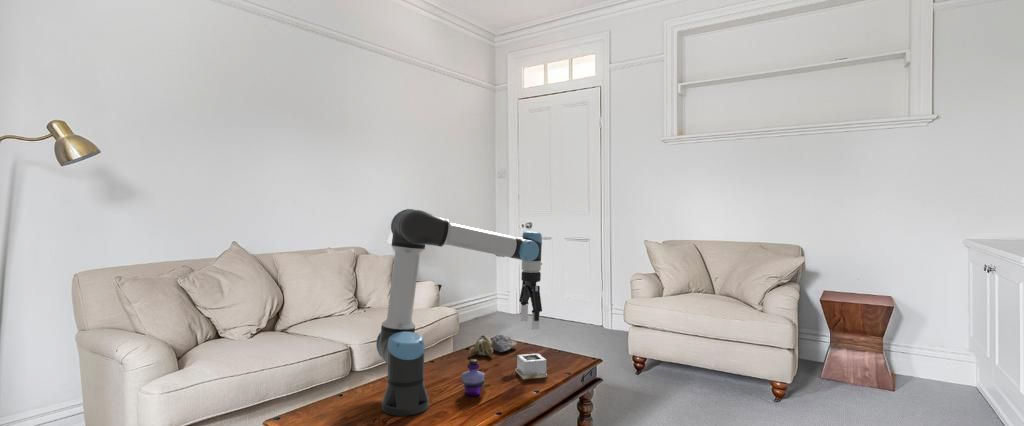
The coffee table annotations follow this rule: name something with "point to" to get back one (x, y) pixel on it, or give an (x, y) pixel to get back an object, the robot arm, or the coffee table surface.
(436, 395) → the coffee table surface
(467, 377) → the potion bottle
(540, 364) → the grey hollow square block
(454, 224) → the robot arm
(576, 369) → the coffee table surface
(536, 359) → the cream square tile
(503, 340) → the rock
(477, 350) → the ceramic sculpture
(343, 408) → the coffee table surface
